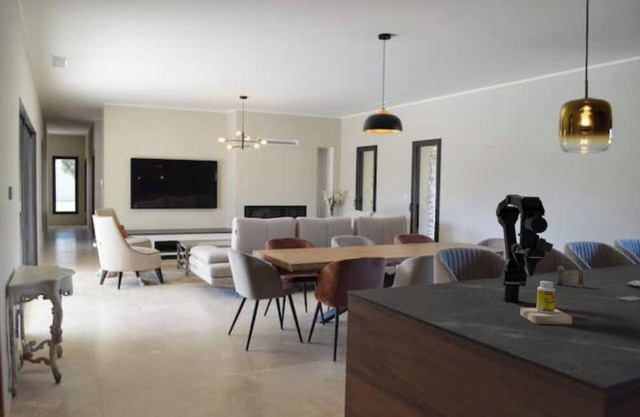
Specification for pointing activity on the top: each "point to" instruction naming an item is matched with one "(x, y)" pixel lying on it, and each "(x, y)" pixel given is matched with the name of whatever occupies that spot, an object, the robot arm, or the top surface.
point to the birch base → (546, 316)
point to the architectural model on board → (570, 277)
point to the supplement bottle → (545, 297)
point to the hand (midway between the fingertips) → (526, 274)
